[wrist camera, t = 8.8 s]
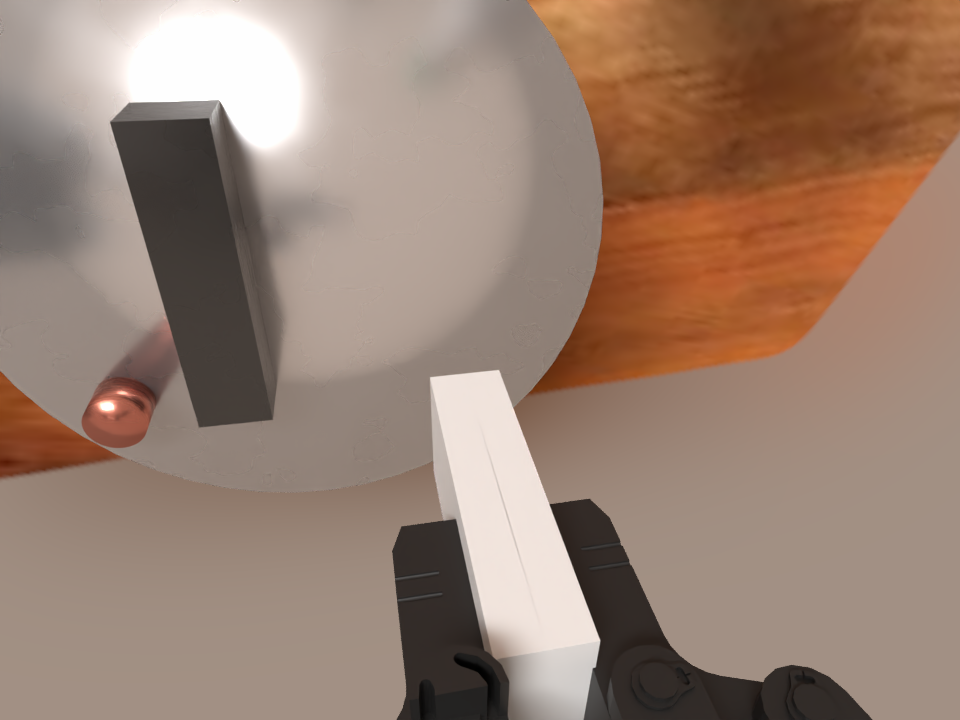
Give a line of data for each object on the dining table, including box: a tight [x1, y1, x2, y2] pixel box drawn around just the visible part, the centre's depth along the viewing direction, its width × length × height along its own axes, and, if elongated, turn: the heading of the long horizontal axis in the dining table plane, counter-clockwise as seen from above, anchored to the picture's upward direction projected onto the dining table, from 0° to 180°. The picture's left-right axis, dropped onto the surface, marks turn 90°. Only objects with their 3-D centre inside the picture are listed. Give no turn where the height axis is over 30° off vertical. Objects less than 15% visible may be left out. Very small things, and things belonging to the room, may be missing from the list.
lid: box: [0, 0, 603, 492], centre depth 22 cm, size 22×21×3 cm
